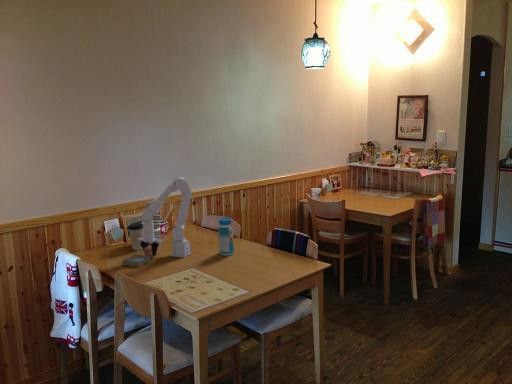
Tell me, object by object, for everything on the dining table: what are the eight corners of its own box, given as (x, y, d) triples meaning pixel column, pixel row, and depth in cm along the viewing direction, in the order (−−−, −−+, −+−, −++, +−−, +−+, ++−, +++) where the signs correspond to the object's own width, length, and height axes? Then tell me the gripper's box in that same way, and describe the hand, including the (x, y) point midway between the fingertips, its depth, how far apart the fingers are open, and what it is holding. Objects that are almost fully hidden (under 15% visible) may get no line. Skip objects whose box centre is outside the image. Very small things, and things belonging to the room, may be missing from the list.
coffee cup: (143, 251, 271) (141, 226, 268) (127, 251, 271) (125, 226, 268) (147, 246, 280) (145, 222, 277) (132, 246, 280) (129, 222, 278)
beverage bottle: (221, 256, 257) (219, 221, 253) (218, 252, 265) (216, 218, 261) (235, 254, 259) (234, 219, 255) (232, 250, 267) (230, 216, 263)
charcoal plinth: (150, 261, 254) (149, 255, 253) (138, 267, 244) (138, 261, 244) (135, 259, 257) (134, 254, 257) (123, 265, 248) (122, 259, 248)
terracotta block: (156, 256, 260) (155, 246, 259) (151, 259, 256) (151, 249, 255) (149, 256, 262) (149, 245, 261) (145, 258, 258) (144, 248, 257)
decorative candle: (165, 240, 291) (162, 201, 286) (154, 244, 283) (151, 204, 279) (154, 238, 296) (151, 200, 291) (144, 242, 288) (140, 203, 284)
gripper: (133, 232, 255) (135, 255, 258) (155, 234, 250) (157, 258, 252) (141, 228, 262) (143, 252, 264) (162, 230, 256) (164, 254, 259)
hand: (150, 254), depth 259 cm, fingers open, 5 cm apart
